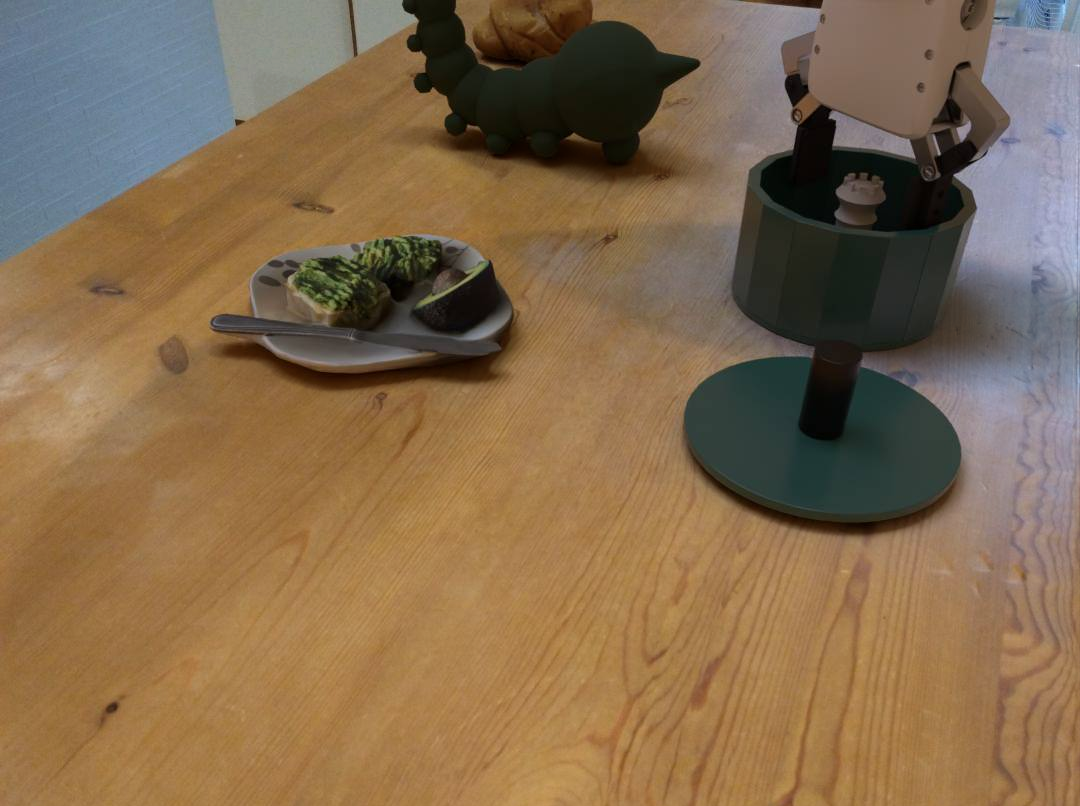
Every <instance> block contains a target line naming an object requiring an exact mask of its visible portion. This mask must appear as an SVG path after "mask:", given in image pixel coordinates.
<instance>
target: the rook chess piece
mask: <svg viewBox="0 0 1080 806" xmlns="http://www.w3.org/2000/svg"><path fill="white" fill-rule="evenodd" d="M855 176H856V174H854V173H851V174H848V176H847V177H845V178H844V183H843V184H842V185H841V186H840V187H839V188H837V189H836V195H837V197H838V199H839V201H840V207H839V209H838V210H837V211H835V217H836V223H835V226H838V227H842V228H851V229H861V230H871V229H872V225H873V223H874V222H876V221H877V216H876V215H875V210H876V208H877V207H878V206H879V205H880V204H881V203H882V202H883V201H884V200H885V199H886V195H885V193H884V191H883V189H882V187H883V181H880V177H878V176H872V181H868V180H867V176H868V173H860V177H859V179H855Z"/></svg>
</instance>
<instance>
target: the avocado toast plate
mask: <svg viewBox="0 0 1080 806" xmlns="http://www.w3.org/2000/svg"><path fill="white" fill-rule="evenodd" d="M248 282H249V283H248V290H249V301H250V307H251V310H252V314H253V316H248V315H241V314H233V313H220V314H217V315H216V316H213V317H212V318H211V319H210V321H209V329H210V331H213V332H214V333H217V334H220V335H225V336H229V337H235V338H241V339H246V340H249V341H251V342H254V343H256V344H258V345H260V346H262V347H264V348H265V349H267V350H268V351H269V352H271V353H272V354H273V355H274V356H276V357H277V358H279V359H282V360H285V361H287V362H290V363H292V364H296V365H298V366H302V367H303V368H307V369H310V370H313V371H316V372H323V373H334V374H366V373H374V372H375V373H376V372H383V371H392V370H400V369H413V368H427V367H439V366H444V365H450V364H454V363H460V362H464V361H465V362H466V361H469V360H473V359H476V358H478V357H483V356H486V355H490V354H495V353H496V352H499V351H502V350H503V349H502V347H501V346H500V345H499V343H498V342H499V341H500V340H501V339H502V338H503V337H504V335H505V334H506V333H507V331H508V330H509V329H510V327H511V325H512V323H513V322H514V318H515V317H514V316H515V312H514V307H513V303H512V300H511V298H510V296H509V294H508V293H507V291H506V289H505V288H504V286H503V285H502V284H501V282H500V280H499V279H498V278H497V277H496V273H495V270H494V265H493V262H492V260H491V259H485V257H484V255H482V254H481V252H480V251H479V250H478V249H477V248H475V247H474V246H473V245H471V244H469V243H467V242H464V241H462V240H459V239H455V238H454V237H448V236H442V235H436V234H428V233H427V234H426V233H425V234H423V233H413V234H405V235H394V236H392V237H386V238H384V237H382V238H374V240H373V239H372V240H367V241H360V242H352V243H346V244H339V245H337V244H335V245H331V244H330V245H329V244H328V245H325V246H317V247H309V248H301V249H295V250H290V251H287V252H284V253H282V254H279V255H277V256H274V257H273V258H270V259H269V260H268V261H266V262H265V263H264V264H263V265H261V266H260V267H259V268H257V270H255V271H254V273H253V274H252V275H251V277H250V278H249V281H248Z"/></svg>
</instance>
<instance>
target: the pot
mask: <svg viewBox="0 0 1080 806" xmlns="http://www.w3.org/2000/svg"><path fill="white" fill-rule="evenodd" d="M792 154H793V148H792V149H788V150H785V151H781V152H777V153H774V154H770V155H767V156H765V157H764V158H763V159H761V160H760V161H758V162H757V163H755V165H753V166H752V167H750V169H749V170H748V176H747V182H746V188H745V195H744V202H743V206H742V207H743V208H742V214H741V220H740V226H739V234H738V240H737V246H736V253H735V259H734V266H733V272H732V280H731V294H732V297H733V300H734V302H735V304H736V305H737V306H738V308H739V309H740V310H741V311H742V312H743V313H744V314H745V315H746V316H747V317H749V319H750V320H752V321H753V322H755V323H756V324H757V325H759V326H761V327H762V328H765V329H766V330H768V331H770V332H773V333H775V334H777V335H779V336H781V337H784V338H786V339H790V340H792V341H796V342H799V343H803V344H805V345H810V346H814V347H815V346H816V345H817V344H818V343H820V342H822V341H825V340H842V341H846V342H849V343H852V344H854V345H856V346H857V347H858V348H860V349H861V351H862V352H874V351H885V350H886V351H887V350H893V349H898V348H901V347H906V346H909V345H912V344H915V343H917V342H918V341H922V340H923V339H925V338H927V337H928V336H929V335H931V334H932V333H933V332H934V331H935V330H936V329H937V328H938V326H939V325H940V323H941V321H942V317H943V316H944V315H945V313H946V312H947V307H948V305H949V301H950V298H951V295H952V292H953V289H954V286H955V281H956V279H957V276H958V272H959V268H960V266H961V262H962V259H963V256H964V253H965V249H966V247H967V243H968V240H969V237H970V233H971V230H972V226H973V223H974V220H975V217H976V214H977V210H978V206H977V203H976V199H975V197H974V193H973V190H972V189H971V188H970V187H968V186H967V185H966V184H964V182H962V181H961V180H960V179H959V178H957V177H956V176H955V175H954V176H953V179H952V183H951V187H950V190H949V194H948V197H947V201H946V204H945V208H944V212H943V215H942V218H941V220H940V222H939V223H938V225H936V226H933V227H930V228H927V229H924V230H911V231H897V228H898V224H899V220H900V216H901V212H902V208H903V204H904V200H905V196H906V192H907V188H908V184H909V181H910V179H911V178H912V177H914V176H917V175H921V173H920V170H919V167H918V164H917V161H916V158H915V157H911V156H905V155H901V154H898V153H893V152H889V151H885V150H881V149H876V148H875V149H874V148H865V147H853V146H843V145H833V146H832V152H831V157H830V162H829V167H828V172H827V176H826V177H825V178H824V179H822V180H819V181H815V182H812V183H809V184H805V185H802V186H799V187H793V186H791V185H789V184H788V177H789V171H790V165H791V160H792ZM851 173H854V174H856V176H855V179H859V177H860V173H868V176H867V180H868V181H872V176H878V177H880V181H883V187H882V189H883V191H884V193H885V195H886V199H885V200H884V201H883V202H882V203H881V204H880V205H879V206H878V207H877V208H876V210H875V215H876V216H877V221H876V222H874V223H873V225H872V229H871V230H861V229H851V228H842V227H838V226H835V223H836V217H835V211H837V210H838V209H839V207H840V201H839V199H838V197H837V195H836V189H837V188H839V187H840V186H841V185H842V184H843V183H844V178H845V177H847V176H848V174H851Z"/></svg>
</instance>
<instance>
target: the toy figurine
mask: <svg viewBox="0 0 1080 806" xmlns="http://www.w3.org/2000/svg"><path fill="white" fill-rule="evenodd" d="M401 2H402V3H401V6H402V8H403V11H404V12H406V13H408V14H410V15H413V16H414V18H416V19H417V21H418V22H417V25H416V29H415V33H414V34H409V35H408V37H407V39H406V41H405V42H406V47H407V49H408V50H409V51H410V52H411V53H420V52H421V54H423V56H424V57H425V63H424V71H425V72H424V71H423V72H417V73H416V75H415V77H414V78H413V80H412V82H413V87H414V88H415V90H416V91H417V92H418V93H419V94H428V93H431V91H432V90H433V89H434V90H435V91H436V92H437V93H438V94H439V95H442V96H444V97H446V100H447V104H448V108H449V109H450V110H451V113H449V114H447V115H446V116H445V118H444V123H443V126H444V129H445V130H446V132H447V134H449V135H450V136H452V137H455V138H456V137H459V136H461V135H462V134H463V135H464V134H465V133H467V130H468V126H471V127H478V129H479V130H480V131H481V132H482V134H483V135H485V136H486V139H485V143H486V146H487V150H488V151H489V152H490V153H492V154H494V155H496V156H499V155H505V154H506V152H507V150H508V148H509V146H510V144H511V145H512V144H516V143H519V142H520V143H521V142H523V141H524V140H526V139H527V138H530V144H529V146H530V148H531V149H532V151H533V152H534V154H535V155H536V156H538V157H542V158H546V159H548V158H550V157H552V156H553V155H554V154H556V153H557V152H559V150H560V145H561V141H563V140H565V139H567V138H569V137H571V136H572V135H573V134H575V135H576V136H578V137H580V138H582V139H584V140H587V141H589V142H593V143H598V144H601V151H602V153H603V157H604V158H606V159H607V161H609V162H610V163H612V164H616V165H621V164H624V163H628V162H629V161H630V160H631V159H632V158H633V157H635V155H636V154H637V152H638V151H639V147H640V143H641V137H640V134H639V133H640V132H641V131H642V130H644V129H645V128H646V126H647V125H648V124H649V123H650V122H651V121H652V119H653V118H654V117H655V115H656V113H657V111H658V109H659V108H660V105H661V102H662V99H663V95H664V91H665V90H666V89H667V88H668V87H670V86H672V85H673V84H675V83H676V82H679V80H682V79H683V78H685V77H687V76H688V75H689V74H692V73H693V72H694V71H696V70H697V69H699V68H700V67H701V61H700V60H699V59H698V58H694V57H689V56H684V55H679V54H674V53H668V52H663V51H660V50H658V49H657V47H656V46H655V44H654V43H653V42H652V40H651V39H650V38H649V37H648V36H647V34H645V33H644V32H642V31H641V30H639V29H638V28H637V27H635V26H633V25H631V24H629V23H626V22H623V21H617V20H610V19H609V20H600V21H597V22H592V23H591V24H590V25H588V26H586V27H584V28H582V29H580V30H578V31H577V32H575V33H574V34H573V35H572V36H571V37H570V38H569V39H568V40H567V41H566V42H565V43H564V45H563V46H562V48H561V49H560V51H559V53H558V54H557V56H556V57H543V58H539V59H536V60H534V61H532V62H530V63H529V62H527V63H526V64H525V65H524V66H523V67H521V69H517V68H514V67H501V68H497V69H493V68H492V67H490V66H487V65H486V64H482V63H479V60H478V58H477V55H476V52H475V51H474V50H473V48H472V47H471V46H470V45H469V44H468V43H467V42H466V41H467V38H466V36H467V35H466V28H465V26H464V23H463V20H462V19H461V18H460V16H459V15H458V14H457V13H456V12H455V11H456V9H457V0H402V1H401Z"/></svg>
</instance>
